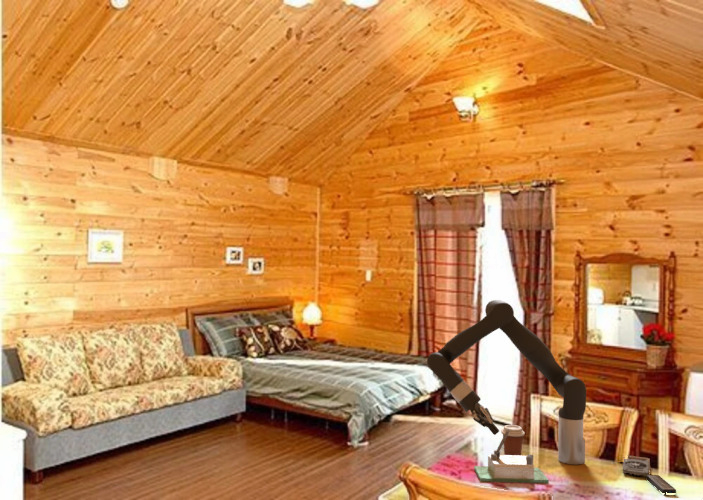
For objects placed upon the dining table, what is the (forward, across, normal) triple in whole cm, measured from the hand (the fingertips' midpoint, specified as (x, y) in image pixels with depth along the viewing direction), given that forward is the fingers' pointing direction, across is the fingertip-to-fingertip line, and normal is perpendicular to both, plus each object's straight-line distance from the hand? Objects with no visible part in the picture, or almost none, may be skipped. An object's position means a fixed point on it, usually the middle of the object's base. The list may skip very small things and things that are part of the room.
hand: (497, 433), depth 221 cm
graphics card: (+42, +30, -20) cm, 56 cm away
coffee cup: (+11, +22, +10) cm, 27 cm away
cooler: (+14, 0, +7) cm, 16 cm away
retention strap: (+4, 0, +1) cm, 4 cm away
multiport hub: (+49, +16, -27) cm, 58 cm away
